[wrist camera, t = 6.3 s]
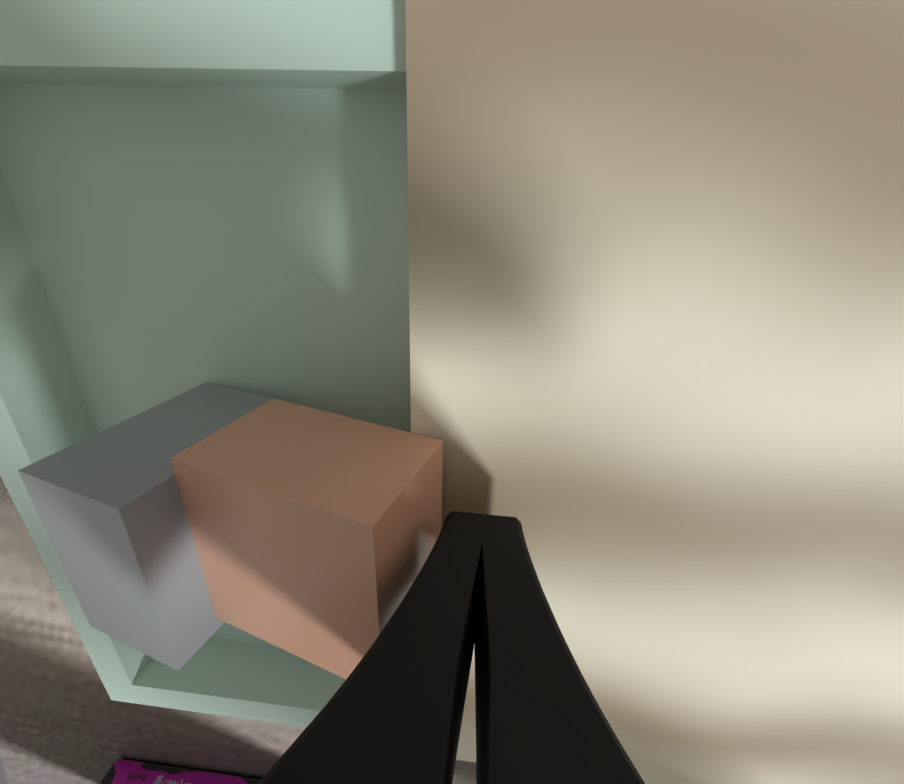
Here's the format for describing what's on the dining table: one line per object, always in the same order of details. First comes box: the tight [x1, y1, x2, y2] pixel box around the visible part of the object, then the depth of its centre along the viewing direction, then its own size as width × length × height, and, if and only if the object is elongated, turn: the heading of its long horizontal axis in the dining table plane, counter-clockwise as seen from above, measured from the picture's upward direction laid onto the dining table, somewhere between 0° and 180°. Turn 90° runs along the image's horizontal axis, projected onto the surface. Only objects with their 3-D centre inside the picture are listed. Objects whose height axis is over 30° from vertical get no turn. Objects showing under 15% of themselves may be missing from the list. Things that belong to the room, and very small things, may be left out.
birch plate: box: [405, 0, 904, 784], centre depth 10 cm, size 18×13×2 cm
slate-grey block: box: [18, 382, 287, 671], centre depth 10 cm, size 4×4×2 cm
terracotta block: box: [170, 398, 443, 679], centre depth 9 cm, size 4×4×2 cm
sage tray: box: [0, 0, 411, 727], centre depth 11 cm, size 18×10×2 cm, turn 178°
